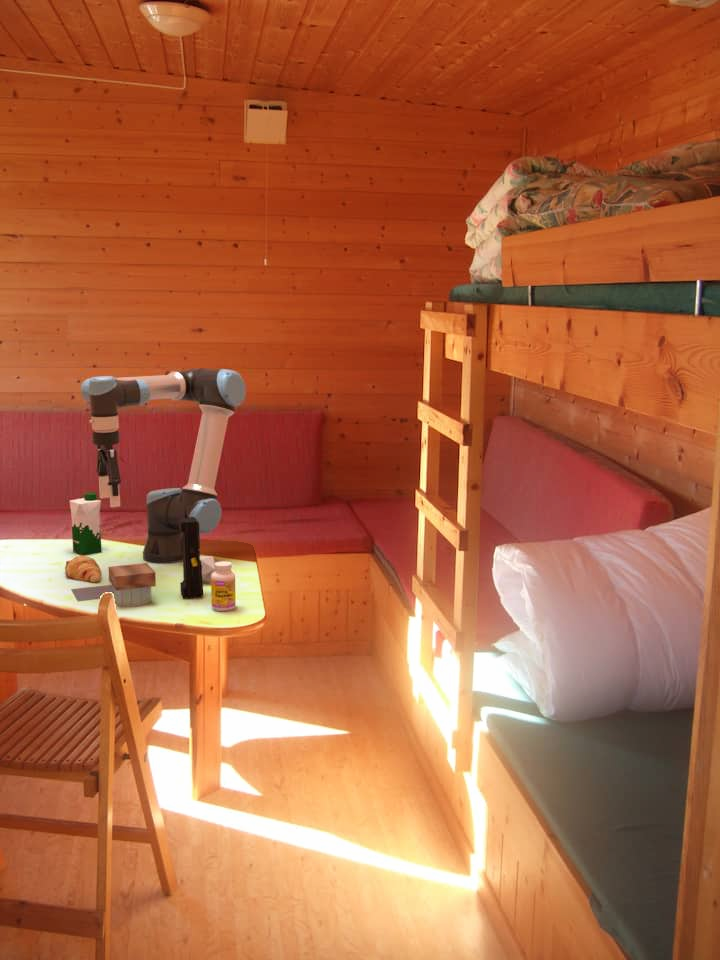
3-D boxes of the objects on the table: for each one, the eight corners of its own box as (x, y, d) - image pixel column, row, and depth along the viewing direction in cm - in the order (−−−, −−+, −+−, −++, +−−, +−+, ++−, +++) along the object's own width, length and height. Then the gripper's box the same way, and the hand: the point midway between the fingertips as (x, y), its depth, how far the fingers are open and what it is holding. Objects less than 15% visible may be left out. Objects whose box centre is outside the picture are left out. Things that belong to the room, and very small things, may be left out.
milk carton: (105, 552, 334) (103, 494, 330) (80, 556, 328) (78, 498, 324) (93, 547, 340) (90, 490, 337) (68, 551, 334) (66, 494, 331)
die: (201, 589, 293) (220, 562, 294) (179, 573, 295) (198, 547, 296) (209, 591, 301) (227, 565, 302) (187, 575, 303) (205, 550, 304)
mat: (115, 585, 295) (115, 584, 295) (123, 597, 283) (123, 596, 283) (71, 590, 289) (71, 589, 289) (77, 602, 278) (77, 601, 278)
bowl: (146, 594, 285) (146, 576, 284) (154, 604, 276) (153, 585, 275) (111, 598, 281) (111, 580, 280) (118, 608, 272) (117, 589, 271)
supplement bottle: (211, 612, 269) (210, 567, 267) (211, 605, 276) (210, 560, 274) (236, 611, 270) (235, 566, 268) (235, 604, 277) (234, 560, 275)
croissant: (107, 593, 298) (117, 569, 300) (79, 584, 292) (90, 559, 293) (76, 577, 314) (86, 554, 315) (49, 568, 307) (59, 544, 309)
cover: (147, 576, 285) (146, 562, 284) (155, 586, 275) (155, 572, 274) (109, 580, 280) (108, 566, 280) (116, 590, 271) (115, 576, 270)
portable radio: (204, 598, 282) (202, 513, 277) (183, 600, 280) (181, 514, 276) (201, 591, 289) (199, 508, 285) (180, 592, 287) (178, 509, 283)
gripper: (83, 425, 292) (88, 495, 296) (101, 437, 270) (106, 512, 274) (108, 424, 295) (113, 492, 299) (129, 435, 273) (133, 509, 278)
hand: (110, 502), depth 287 cm, fingers open, 13 cm apart
